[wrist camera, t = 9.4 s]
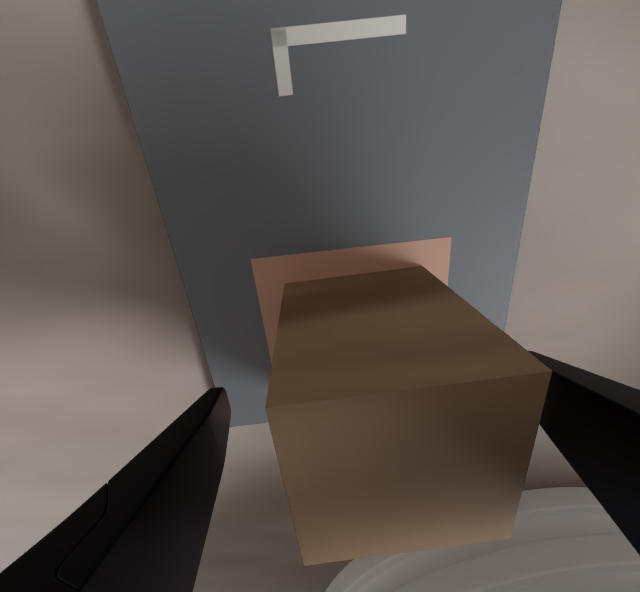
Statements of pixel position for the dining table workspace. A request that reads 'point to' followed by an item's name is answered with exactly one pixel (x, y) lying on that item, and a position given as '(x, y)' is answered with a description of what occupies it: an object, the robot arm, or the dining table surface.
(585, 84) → the dining table surface
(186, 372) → the dining table surface
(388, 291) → the walnut block
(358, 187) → the board
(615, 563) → the plate stack
